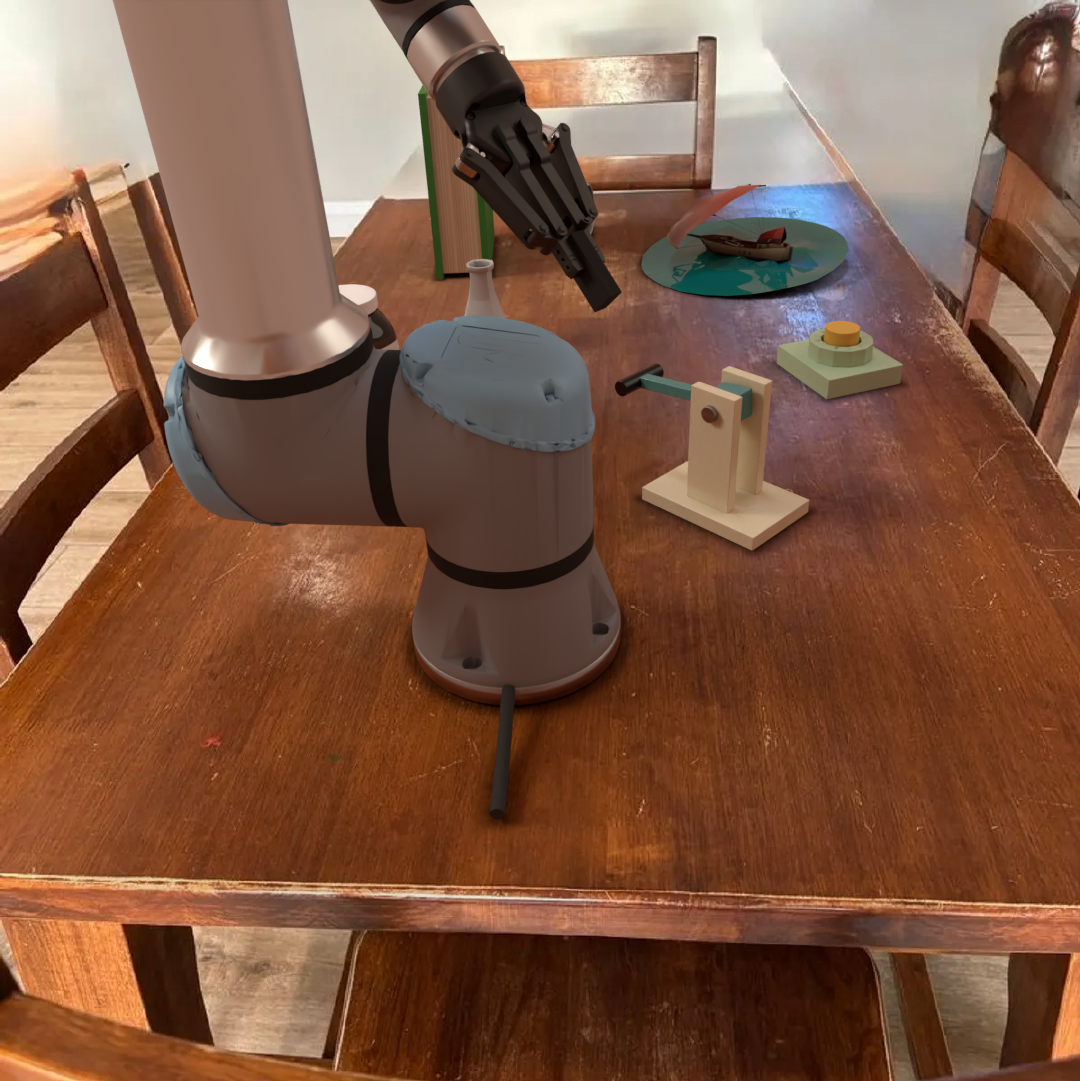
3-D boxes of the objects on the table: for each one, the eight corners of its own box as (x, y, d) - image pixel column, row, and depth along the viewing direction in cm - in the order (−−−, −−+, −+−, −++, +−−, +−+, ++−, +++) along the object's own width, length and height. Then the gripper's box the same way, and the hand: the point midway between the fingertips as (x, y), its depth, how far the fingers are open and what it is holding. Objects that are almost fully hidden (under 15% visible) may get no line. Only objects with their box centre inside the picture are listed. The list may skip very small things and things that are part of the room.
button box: (900, 383, 107) (906, 348, 105) (826, 399, 105) (831, 364, 102) (845, 349, 115) (850, 316, 113) (776, 363, 113) (779, 329, 110)
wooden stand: (641, 499, 90) (643, 377, 83) (698, 466, 94) (704, 348, 88) (752, 551, 83) (763, 422, 76) (808, 512, 87) (823, 387, 81)
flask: (509, 359, 117) (503, 275, 111) (448, 356, 118) (440, 273, 112) (522, 334, 123) (517, 253, 117) (464, 332, 124) (457, 252, 118)
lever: (615, 400, 89) (613, 374, 88) (652, 381, 92) (651, 356, 91) (725, 430, 81) (725, 402, 80) (763, 409, 84) (762, 382, 83)
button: (865, 345, 107) (867, 330, 106) (835, 351, 106) (837, 335, 105) (845, 333, 110) (847, 318, 109) (816, 339, 109) (818, 324, 108)
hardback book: (490, 277, 140) (476, 91, 127) (436, 279, 140) (417, 93, 127) (494, 238, 155) (483, 67, 141) (446, 240, 155) (430, 69, 141)
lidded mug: (416, 398, 109) (403, 294, 103) (334, 438, 102) (314, 330, 96) (346, 370, 116) (329, 271, 109) (264, 406, 109) (241, 303, 103)
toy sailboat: (690, 223, 156) (687, 149, 150) (873, 234, 143) (878, 153, 136) (607, 295, 138) (599, 215, 131) (808, 316, 125) (810, 227, 118)
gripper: (504, 94, 96) (634, 303, 95) (395, 119, 89) (535, 345, 88) (540, 37, 90) (680, 259, 89) (426, 58, 83) (577, 301, 82)
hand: (608, 302), depth 89 cm, fingers closed
